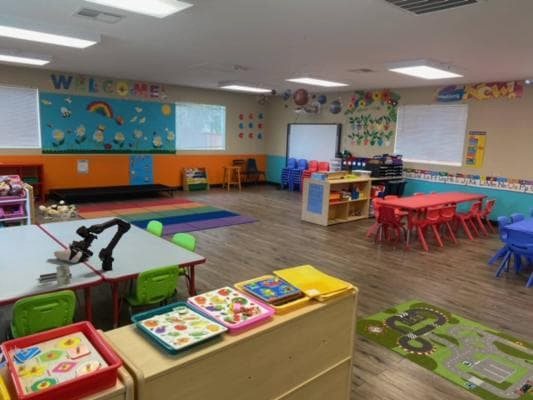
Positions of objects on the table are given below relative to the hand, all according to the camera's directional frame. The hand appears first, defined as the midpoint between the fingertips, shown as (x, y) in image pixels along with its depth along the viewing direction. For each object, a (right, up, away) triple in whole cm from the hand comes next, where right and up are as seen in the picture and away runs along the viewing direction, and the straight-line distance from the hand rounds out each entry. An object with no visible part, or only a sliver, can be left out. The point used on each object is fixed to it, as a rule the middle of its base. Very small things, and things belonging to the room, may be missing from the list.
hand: (73, 261), depth 260 cm
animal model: (-22, -5, +42) cm, 48 cm away
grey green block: (-4, -14, -5) cm, 15 cm away
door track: (-14, -12, +5) cm, 19 cm away
